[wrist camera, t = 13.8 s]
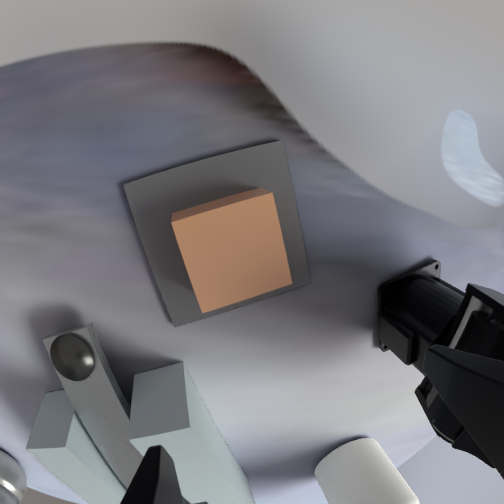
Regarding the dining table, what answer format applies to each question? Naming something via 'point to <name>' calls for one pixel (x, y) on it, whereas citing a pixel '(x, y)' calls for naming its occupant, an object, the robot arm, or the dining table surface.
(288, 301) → the dining table surface
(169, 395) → the grey-green channel block
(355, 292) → the dining table surface
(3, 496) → the plastic bottle
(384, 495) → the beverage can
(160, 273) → the pad
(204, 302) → the tile
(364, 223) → the dining table surface
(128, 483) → the lever
